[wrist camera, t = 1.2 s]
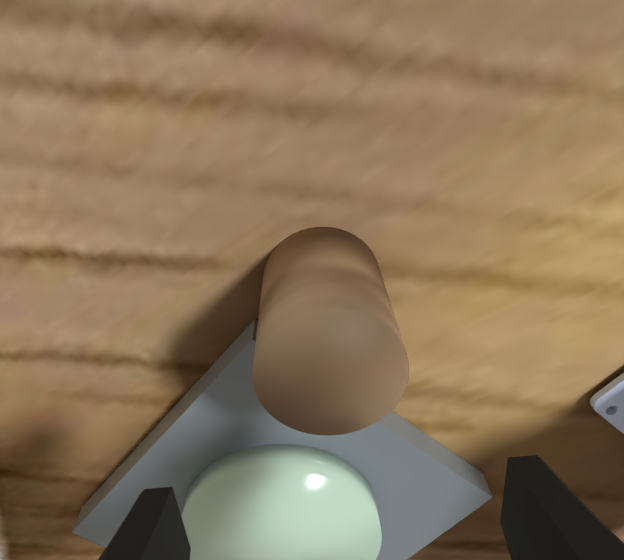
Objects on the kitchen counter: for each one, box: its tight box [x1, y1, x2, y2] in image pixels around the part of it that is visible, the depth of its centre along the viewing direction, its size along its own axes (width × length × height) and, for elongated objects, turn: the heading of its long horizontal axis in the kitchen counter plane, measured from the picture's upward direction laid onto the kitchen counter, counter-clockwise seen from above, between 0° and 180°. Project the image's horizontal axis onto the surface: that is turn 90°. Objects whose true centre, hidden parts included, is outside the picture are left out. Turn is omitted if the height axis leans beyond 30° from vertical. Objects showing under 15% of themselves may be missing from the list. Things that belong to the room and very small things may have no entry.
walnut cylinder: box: [252, 227, 409, 436], centre depth 18 cm, size 5×5×6 cm
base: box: [72, 319, 493, 560], centre depth 25 cm, size 14×14×3 cm
